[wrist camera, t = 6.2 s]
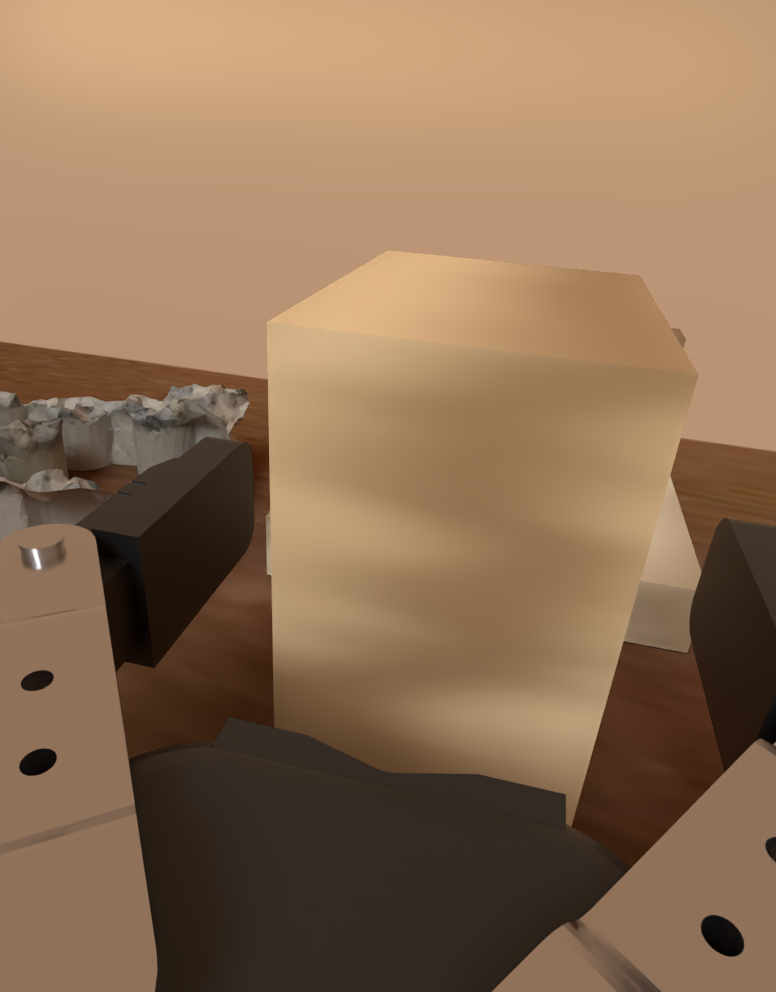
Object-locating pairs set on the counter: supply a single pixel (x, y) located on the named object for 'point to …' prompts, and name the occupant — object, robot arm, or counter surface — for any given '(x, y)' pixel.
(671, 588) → the birch board
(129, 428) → the egg carton
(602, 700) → the oak plank block
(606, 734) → the counter surface
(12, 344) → the counter surface
